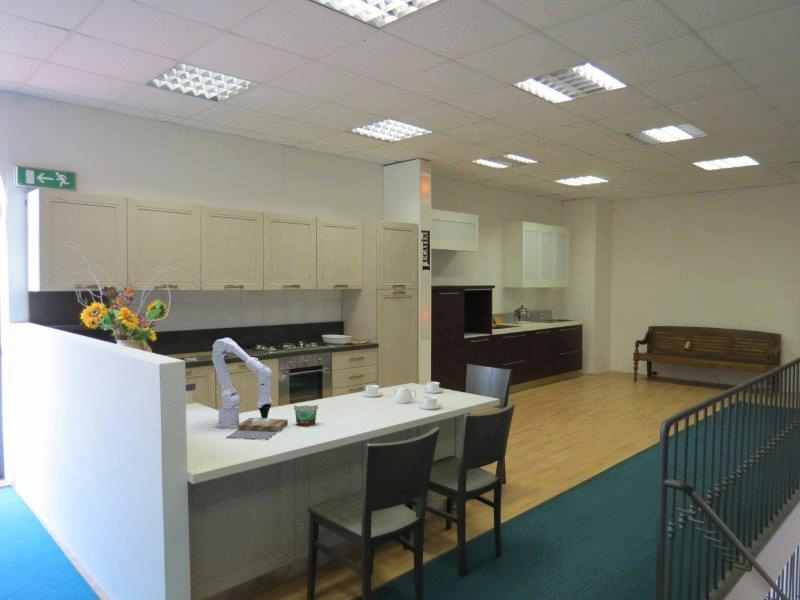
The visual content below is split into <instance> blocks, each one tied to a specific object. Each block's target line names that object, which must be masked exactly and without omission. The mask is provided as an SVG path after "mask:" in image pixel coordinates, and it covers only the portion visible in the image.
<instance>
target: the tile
mask: <svg viewBox="0 0 800 600" xmlns="http://www.w3.org/2000/svg"><path fill="white" fill-rule="evenodd" d="M254 418H255V419H253V420H252V425H269V424H270V423H272V419H273V418H272V417H267V418H262V417H254Z"/></svg>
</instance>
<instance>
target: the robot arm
mask: <svg viewBox="0 0 800 600" xmlns="http://www.w3.org/2000/svg"><path fill="white" fill-rule="evenodd" d="M227 353H230V354H231V353H233V354H234V355H236V356H237V357H238V358H239V359H241V361H244V362H245V365H246V367H247V369H249V370H250V371H252V372H253V373H254V374H255V375H256V378H257V379H258V401H257V404H256V409H258V411H259V413H260V418H269V417H268V416H269V411H270V409H271V407H272V403H274V401H273V400H272V399H273V398H272V397H271V377H272V375H273V371H272V369H271V368H270V367H269V366H266V364H263V363H262V362H261V361H259V358H258V357H251V355H249V354H248V353H247V352H245V350H244V349H242V348H241V346H239V345H238V343H237V342H236V341H234V340H233V339H232V338H231V337H223V338H220V339H216V340H215V341H214V343H213V344H212V354H211V360H212V363H213V367H214V369H215V373H216V375H217V378H218V381H219V385H220V388H221V390H222V393H221V405H222V408H220V409H219V411H218V415H217V417H218V420H217V421H218V425H217V428H221V429H223V428H225V429H228V428H229V429H238V425H239V424H240V406H239V405H240V404H241V401H242V397H241V396H240V394H238V392H237V390H236V389H235V388H234V386H233V383H232V379H231V377H230V373H229V370H228V366H227V364H226V361H225V356H226V355H227Z"/></svg>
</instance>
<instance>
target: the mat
mask: <svg viewBox="0 0 800 600" xmlns="http://www.w3.org/2000/svg"><path fill="white" fill-rule="evenodd" d="M276 433H277V432H264V431H243V430H238V429H237V430H236V431H234V432H232V433H231V434H229V435H227V436H226V439H235V438H244V439H243V440H255V439H267V440H266V441H268V439H269V438H270V439H272V438H273V437H274V436H275V435H277V434H278V433H277V434H276ZM273 435H274V436H273ZM272 436H273V437H272ZM270 439H269V440H270Z"/></svg>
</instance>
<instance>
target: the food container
mask: <svg viewBox="0 0 800 600" xmlns="http://www.w3.org/2000/svg"><path fill="white" fill-rule="evenodd" d="M318 409H319V405H318V404H315V405H306V404H305V405H295V404H294V406H293V410H294V411H295V420H296V422H295V423H296V425H297V426H298V425H299V426H298V427H311V426H310V425H312V426H315V425H316V419H317V411H318ZM314 424H315V425H314Z"/></svg>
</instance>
